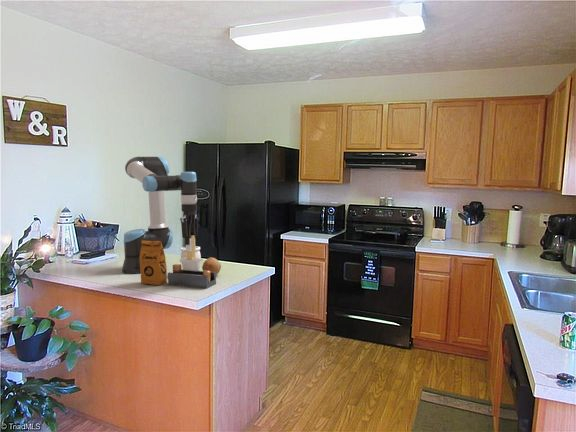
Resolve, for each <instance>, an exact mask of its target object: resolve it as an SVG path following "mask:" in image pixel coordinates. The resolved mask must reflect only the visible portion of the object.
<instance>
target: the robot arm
mask: <svg viewBox="0 0 576 432" xmlns="http://www.w3.org/2000/svg"><path fill="white" fill-rule="evenodd" d="M124 171H125V173H126V174H127V176H129V177H130V178H132V179H136V180H137V181H138V182H140V183H142V188H143V190H144V191H145V192H148V206H149V221H150V223H149V225H148V226H147V230H146V229H145V228H138V229H137V228H136V229H132V230H128V231H126V232H124V234H123V247H124V248H123V249H124V259H123V260H124V261H123V264H122V267H121V269H122V270H121V272H122V273H123V274H128V275H133V274H134V275H135V274H136V275H137V274H141V272H140V259H139V256H140V252H141V247H142V244H141V242H142V241H161V243H162V246H163V250H167V249H169V248H171V247H172V244H173V241H174V235H173V230H172V229H171V228H170V227H169V225H168V224H167V223H166V209H165V207H166V206H165V204H166V203H165V192H168V191H169V192H170V191H172V192H173V191H180V202H181V212H183V215H182V217H180V218H179V221H180V224H181V225H180V226H181V235H182V239H185V247H186V251H192V248H191V238H190V235H194V236H195V238H197V237H198V234H199V217H200V216H199V214H197V211H198V203H197V202H198V195H197V194H198V192H197V191H198V190H197V187H198V185H197V184H198V182H197V181H198V179H197V173H196V172H195V171H181V172H180V174H177V175H176V174H175V175H170V167H169V163H168V160H167V159H166V158H165V157H164V156H133V157H132V158H130V159H129V160H127V162H126V163H125V166H124Z"/></svg>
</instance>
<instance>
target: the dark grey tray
mask: <svg viewBox="0 0 576 432" xmlns="http://www.w3.org/2000/svg"><path fill="white" fill-rule="evenodd" d="M216 284H217V275H216V272H210V270H204V271H203V270H199V271H197V270H184V269H183V268H182V263H179V264H178V263H175V264H174V263H173V264H172V272H167V285H168V286H175V287H176V286H177V287H178V286H179V287H186V288H187V287H188V288H197V289H206V290H207V289H208V288H211V287H213V286H214V285H216Z"/></svg>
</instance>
